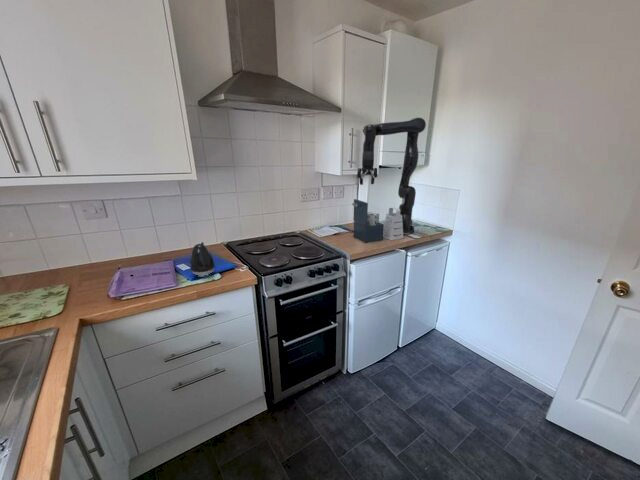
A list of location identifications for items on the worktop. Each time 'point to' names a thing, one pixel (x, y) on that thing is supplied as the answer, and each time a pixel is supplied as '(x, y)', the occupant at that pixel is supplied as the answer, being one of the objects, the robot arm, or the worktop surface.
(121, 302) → the worktop surface
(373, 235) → the bin
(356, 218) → the bin lid
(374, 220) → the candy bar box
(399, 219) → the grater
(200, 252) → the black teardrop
